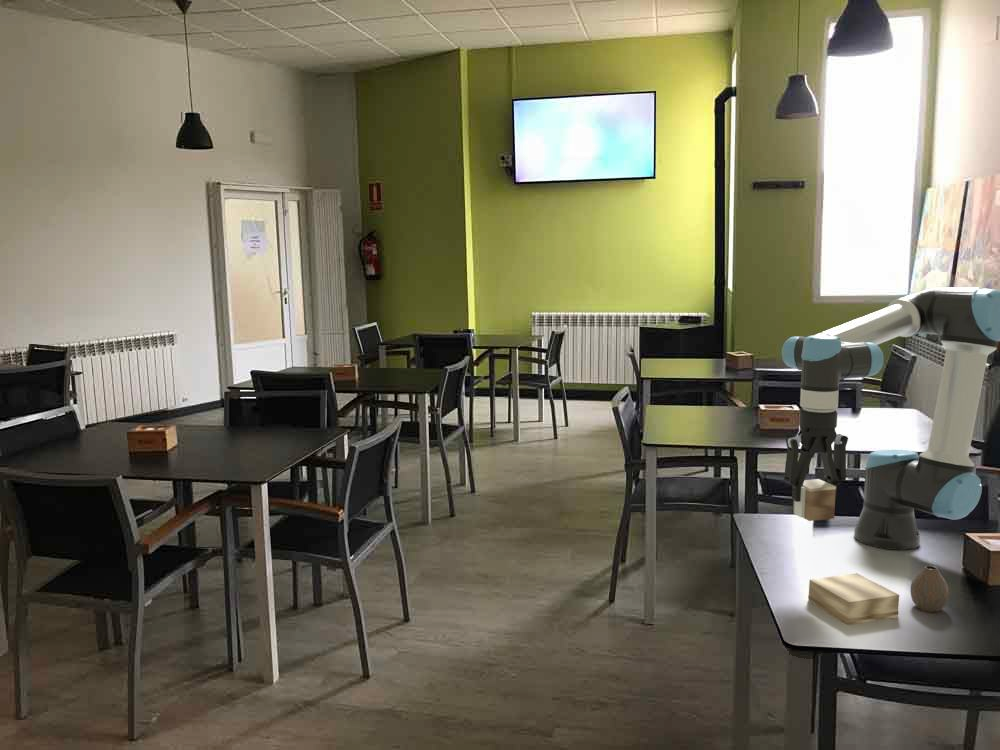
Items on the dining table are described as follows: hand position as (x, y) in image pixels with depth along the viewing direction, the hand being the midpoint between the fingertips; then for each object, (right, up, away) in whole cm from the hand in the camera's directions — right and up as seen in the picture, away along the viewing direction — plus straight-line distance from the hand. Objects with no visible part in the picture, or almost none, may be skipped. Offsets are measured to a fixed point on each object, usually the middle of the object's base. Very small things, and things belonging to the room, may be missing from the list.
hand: (813, 514), depth 180 cm
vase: (+20, -18, -9) cm, 29 cm away
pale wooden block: (0, 0, 0) cm, 0 cm away
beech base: (+5, -18, -9) cm, 21 cm away
